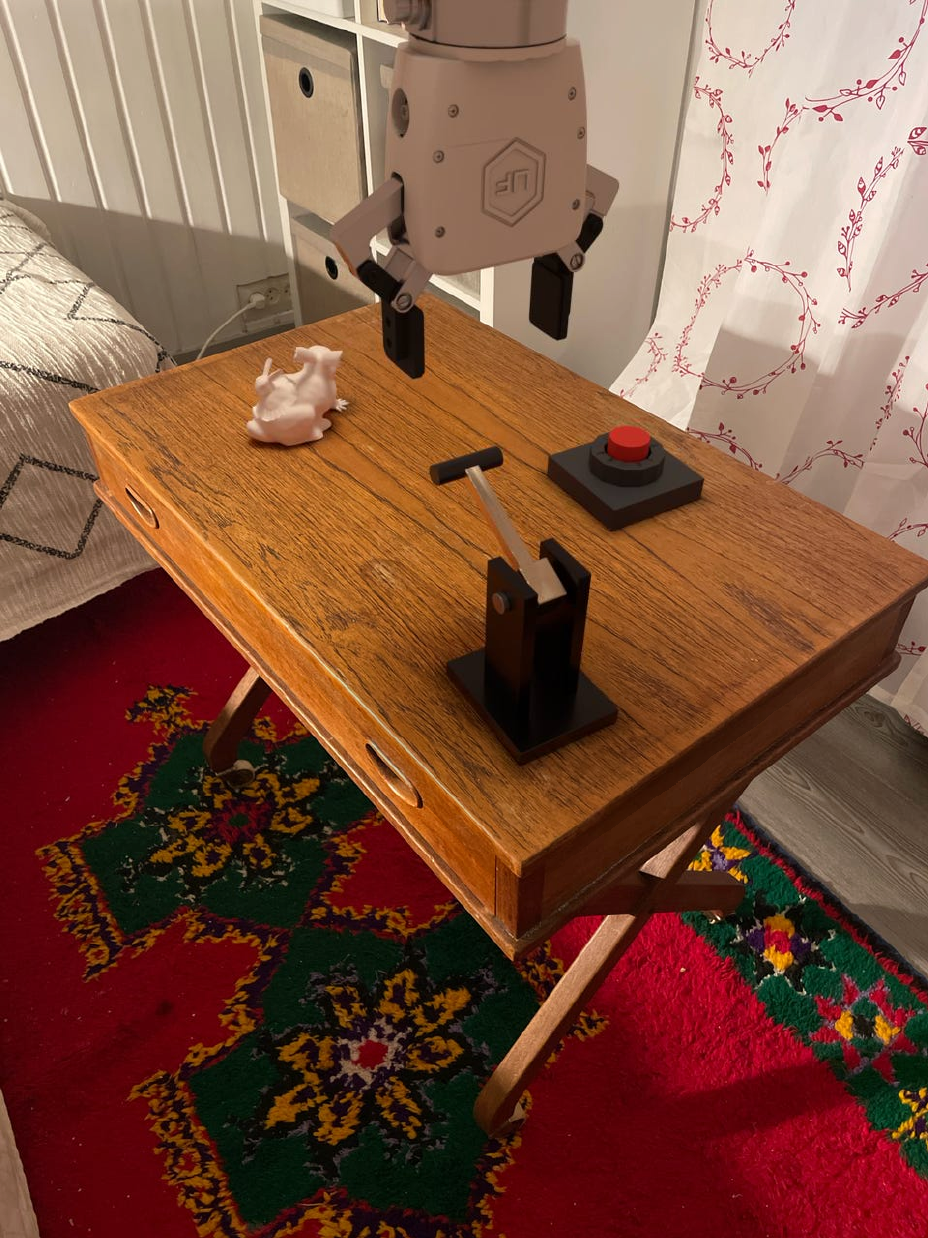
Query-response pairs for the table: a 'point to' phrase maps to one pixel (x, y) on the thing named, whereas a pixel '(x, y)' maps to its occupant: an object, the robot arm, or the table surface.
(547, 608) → the lever
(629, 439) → the button
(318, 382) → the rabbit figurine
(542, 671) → the switch bracket
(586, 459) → the control block
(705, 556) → the table surface
